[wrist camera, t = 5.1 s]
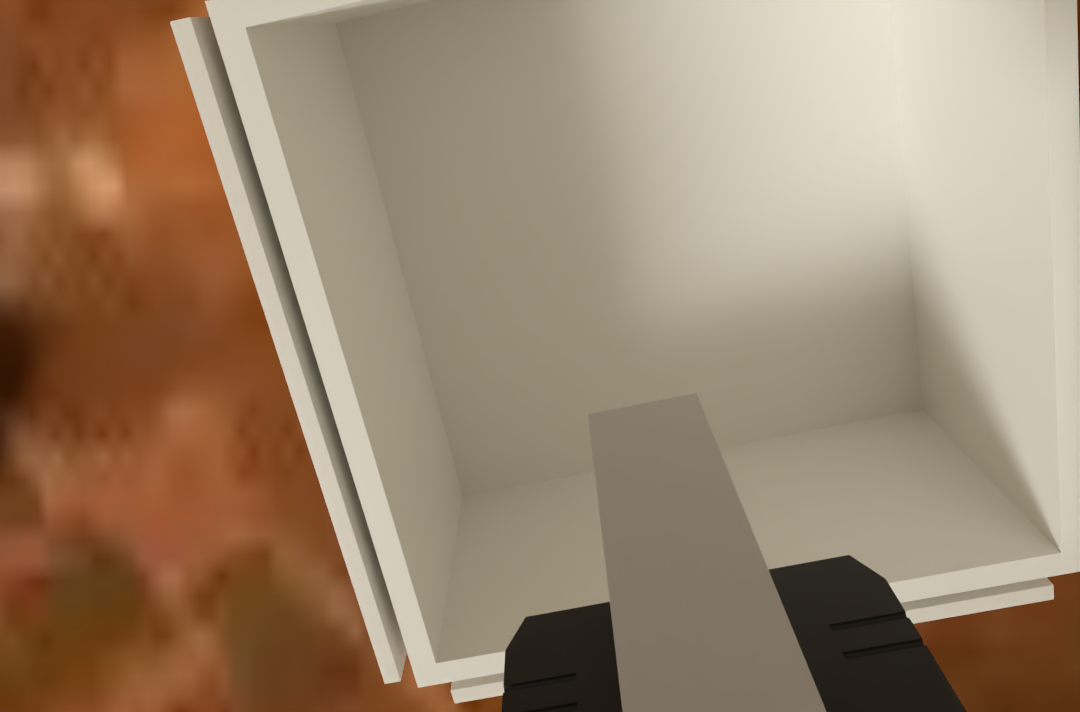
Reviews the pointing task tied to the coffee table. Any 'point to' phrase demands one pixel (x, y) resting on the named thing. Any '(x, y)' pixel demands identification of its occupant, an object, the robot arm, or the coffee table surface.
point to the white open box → (661, 283)
